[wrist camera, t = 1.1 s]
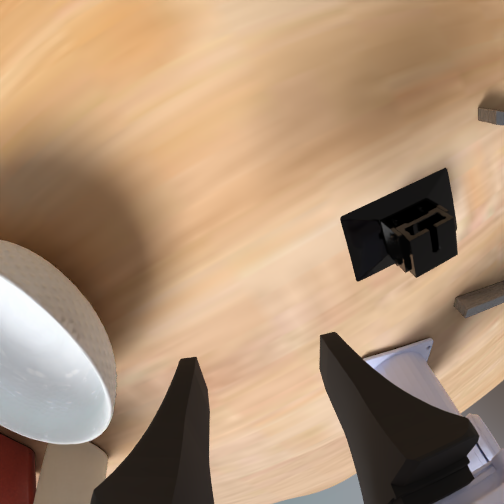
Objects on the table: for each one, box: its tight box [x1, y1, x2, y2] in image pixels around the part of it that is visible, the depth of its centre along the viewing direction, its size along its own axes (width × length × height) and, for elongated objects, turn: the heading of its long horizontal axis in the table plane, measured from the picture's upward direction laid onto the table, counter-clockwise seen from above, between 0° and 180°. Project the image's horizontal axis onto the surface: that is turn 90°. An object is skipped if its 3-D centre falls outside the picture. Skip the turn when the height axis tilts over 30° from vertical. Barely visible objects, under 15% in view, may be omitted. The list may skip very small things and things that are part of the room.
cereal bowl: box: [0, 240, 117, 444], centre depth 18 cm, size 17×17×7 cm
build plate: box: [340, 168, 458, 281], centre depth 20 cm, size 12×7×5 cm, turn 114°
